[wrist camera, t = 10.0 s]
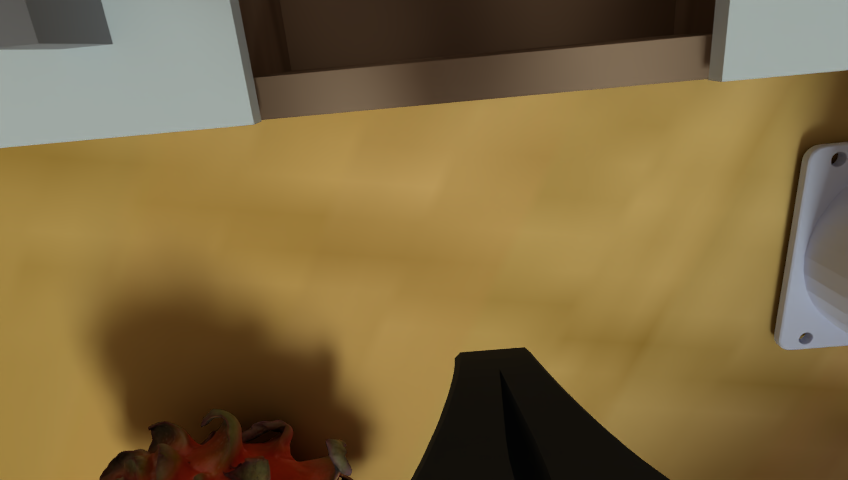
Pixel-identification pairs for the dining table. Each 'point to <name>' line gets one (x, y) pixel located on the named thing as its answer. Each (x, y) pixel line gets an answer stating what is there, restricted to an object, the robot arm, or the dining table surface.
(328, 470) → the dragon fruit
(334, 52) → the walnut box
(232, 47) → the lid left
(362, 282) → the dining table surface
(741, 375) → the dining table surface
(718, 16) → the lid right
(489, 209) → the dining table surface
